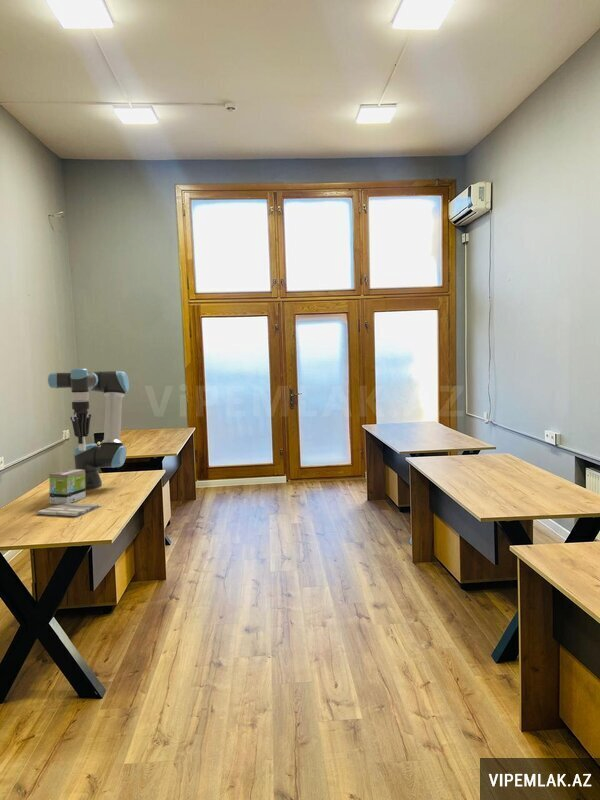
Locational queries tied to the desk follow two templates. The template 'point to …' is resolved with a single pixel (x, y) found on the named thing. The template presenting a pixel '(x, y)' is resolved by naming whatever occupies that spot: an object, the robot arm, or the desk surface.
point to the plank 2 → (72, 512)
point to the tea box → (67, 486)
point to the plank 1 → (50, 511)
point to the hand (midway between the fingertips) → (82, 450)
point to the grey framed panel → (68, 516)
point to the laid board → (76, 506)
